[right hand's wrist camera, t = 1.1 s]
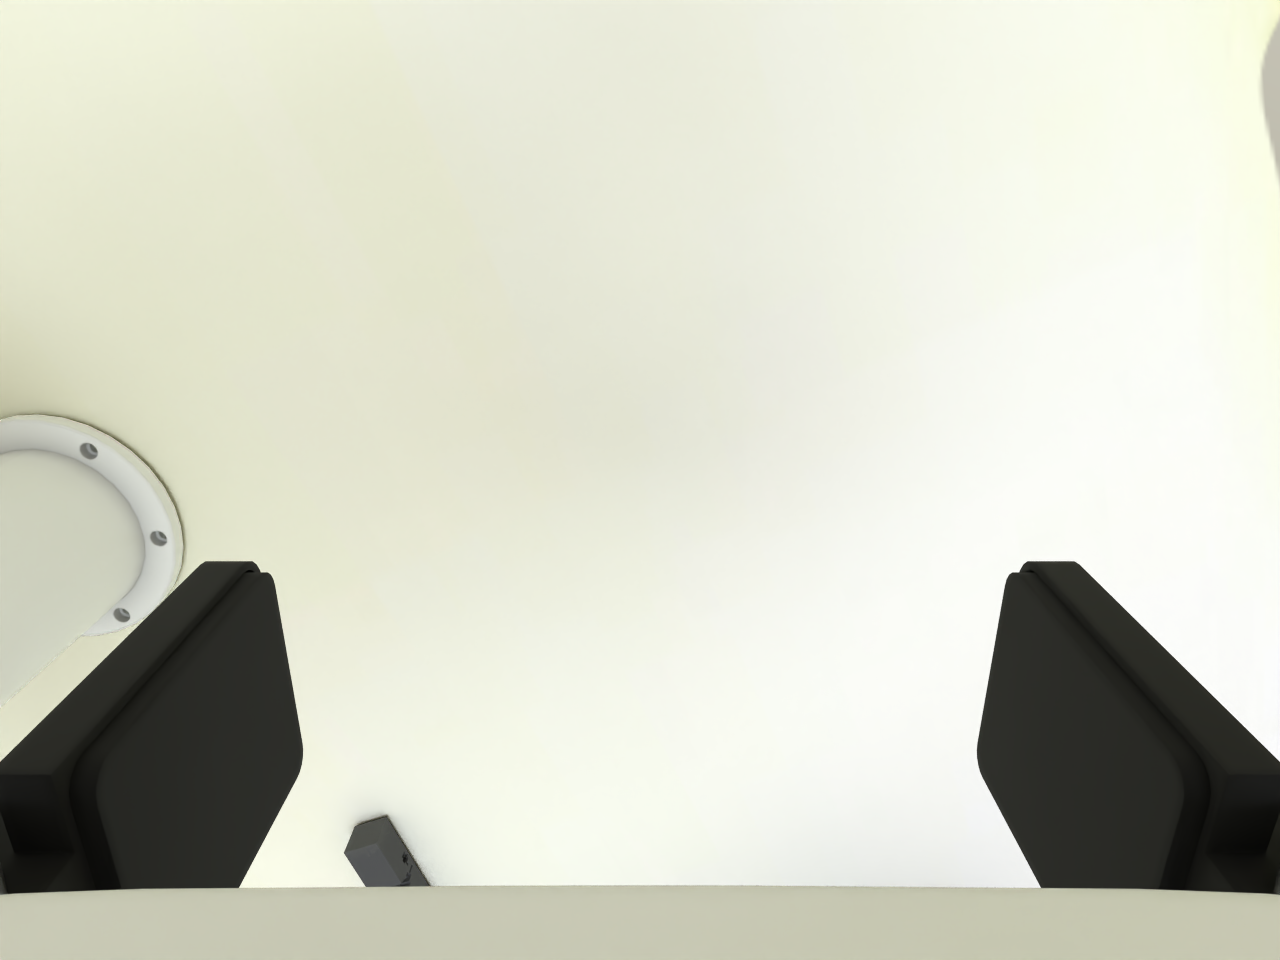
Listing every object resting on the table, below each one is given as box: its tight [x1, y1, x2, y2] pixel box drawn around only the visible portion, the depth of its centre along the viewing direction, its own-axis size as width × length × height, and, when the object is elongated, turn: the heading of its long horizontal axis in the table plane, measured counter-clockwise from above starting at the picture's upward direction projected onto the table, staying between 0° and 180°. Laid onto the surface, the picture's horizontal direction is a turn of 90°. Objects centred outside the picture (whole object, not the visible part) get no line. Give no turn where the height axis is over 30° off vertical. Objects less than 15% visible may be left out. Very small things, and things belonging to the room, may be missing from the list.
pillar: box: [344, 817, 429, 887], centre depth 57 cm, size 2×2×20 cm
